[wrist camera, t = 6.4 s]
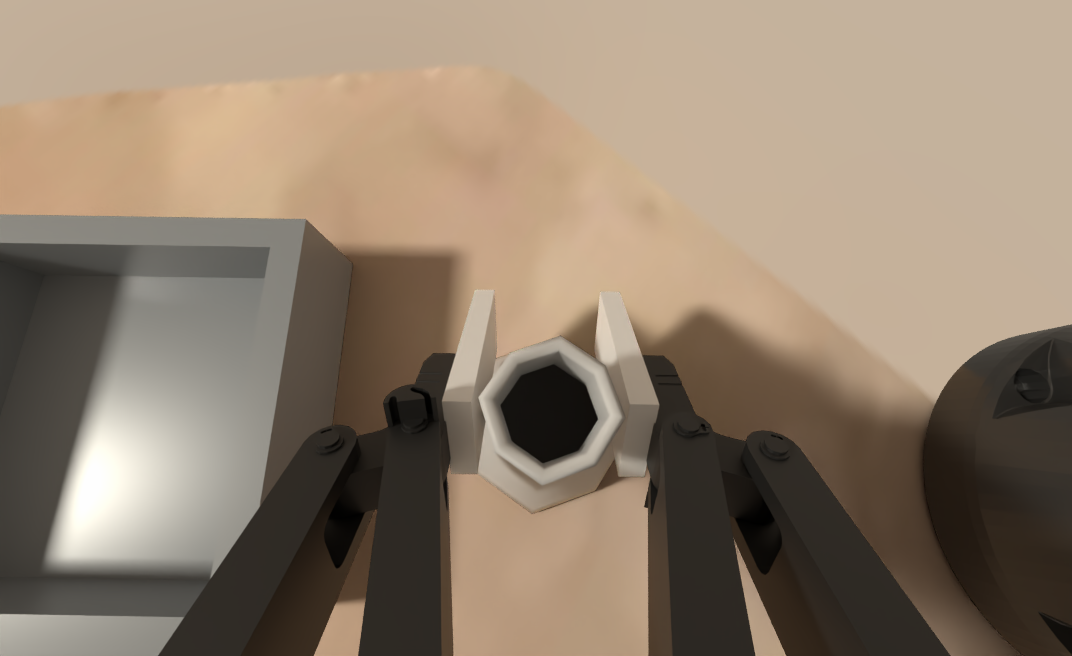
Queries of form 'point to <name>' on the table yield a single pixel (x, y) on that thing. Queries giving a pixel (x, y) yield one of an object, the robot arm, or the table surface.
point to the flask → (548, 424)
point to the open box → (149, 411)
